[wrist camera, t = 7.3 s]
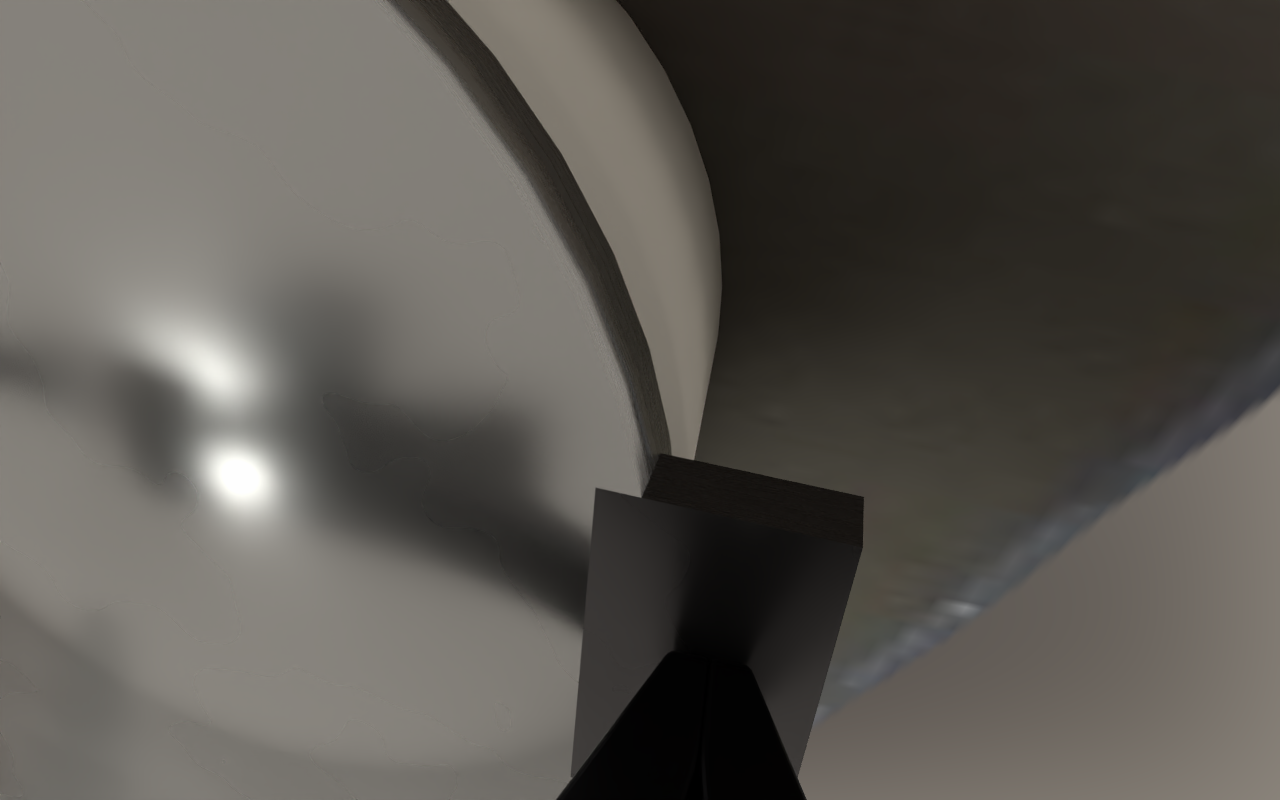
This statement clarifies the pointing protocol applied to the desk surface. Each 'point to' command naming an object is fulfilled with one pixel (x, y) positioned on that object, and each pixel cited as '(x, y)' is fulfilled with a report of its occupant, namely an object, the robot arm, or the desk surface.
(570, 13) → the cooker body
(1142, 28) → the desk surface
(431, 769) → the cooker lid
